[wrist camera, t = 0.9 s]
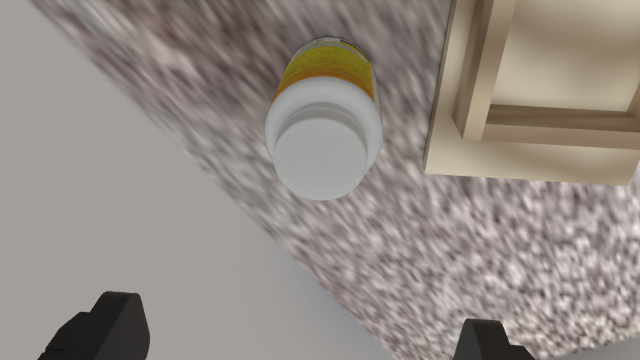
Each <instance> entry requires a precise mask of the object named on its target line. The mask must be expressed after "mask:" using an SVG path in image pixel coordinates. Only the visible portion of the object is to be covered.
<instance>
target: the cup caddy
mask: <svg viewBox="0 0 640 360" xmlns="http://www.w3.org/2000/svg"><path fill="white" fill-rule="evenodd" d="M639 160H640V0H453V1H452V6H451V12H450V17H449V23H448V28H447V34H446V39H445V45H444V50H443V56H442V61H441V67H440V72H439V78H438V83H437V89H436V94H435V100H434V105H433V111H432V116H431V122H430V127H429V133H428V138H427V144H426V149H425V155H424V160H423V169H424V173H426V174H442V175H458V176H475V177H491V178H507V179H524V180H540V181H556V182H573V183H589V184H605V185H622V186H627V185H628V183H629V181H630V179H631V177H632V175H633V173H634V171H635V169H636V167H637V164H638V162H639Z"/></svg>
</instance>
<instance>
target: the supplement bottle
mask: <svg viewBox="0 0 640 360" xmlns="http://www.w3.org/2000/svg"><path fill="white" fill-rule="evenodd" d="M264 135H265V142H266V146H267V149H268V152H269V154H270V156H271V158H272V160H273V161H274V166H275V170H276V173H277V175H278V177H279V178H280V180H281V181H282V183H283V184H284V185H285V186H286V187H287V188H288V189H289V190H291V191H292V192H294V193H295V194H297V195H299V196H301V197H304V198H307V199H311V200H320V201H323V200H332V199H336V198H339V197H342V196H344V195H346V194H348V193H349V192H351V191H352V190H353V189H354V188H355V187H356V186H357V185H358V184H359V183H360V181H361V180H362V178H363V176H364V174H365V173H366V172H367V171H368V170H369V169H370V168H371V166H372V165H373V164H374V162H375V161H376V159H377V157H378V155H379V153H380V150H381V147H382V142H383V121H382V115H381V107H380V101H379V94H378V88H377V82H376V76H375V72H374V69H373V66H372V64H371V62H370V60H369V58H368V57H367V56H366V54H365V53H364V52H363V51H362V50H361V49H360V48H358V47H357V46H356V45H354V44H352V43H351V42H349V41H346V40H343V39H339V38H332V37H328V38H320V39H316V40H313V41H311V42H309V43H307V44H305V45H304V46H302V47H301V48H300V49H299V50H298V51H297V52H296V53H295V54H294V55H293V56H292V58H291V59H290V61H289V63H288V65H287V67H286V69H285V72H284V74H283V77H282V79H281V81H280V84H279V86H278V88H277V91H276V94H275V96H274V99H273V101H272V103H271V105H270V108H269V111H268V114H267V117H266V121H265V129H264Z"/></svg>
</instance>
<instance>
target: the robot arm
mask: <svg viewBox="0 0 640 360" xmlns="http://www.w3.org/2000/svg"><path fill="white" fill-rule="evenodd" d="M149 344H150V334H149V329H148V325H147V321H146V318H145V313H144V309H143V305H142V301H141V297H140V295H139V294H137V293H126V292H112V291H107V292H105V293H103V294H102V295H101V296H100V298H99V299H98V301H97V302H96V304H95V305H94V307H93V308H92V310H91V311H90V312H79V313H78V314H77V315H75V317H73V318H72V319H71V320H69V321H68V322H67V323H66V324H64V325H63V326H62V327H61V328H60V329H59V330H58V331H57V333H56V334H55V336H54V337H53V338H52V340H51V341H50V343H49V344H48V346H47V347H46V348H45V349H46V350H45V352H44V353H42V354H41V355H40V357H39V358H38V360H145V359H146V357H147V354H148V350H149ZM453 360H535V359H534V358H533V357H532V355H531V354H530V353H529V352H528V351H527V350H526V348H525V347H524V346H519V345H510V343H509V341H508V338H507V335H506V332H505V330H504V327H503V325H502V323H501V322H500V321H497V320H484V319H470V318H467V319H466V320H465V322H464V324H463V328H462V331H461V334H460V338H459V341H458V344H457V348H456V351H455V354H454V358H453Z"/></svg>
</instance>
